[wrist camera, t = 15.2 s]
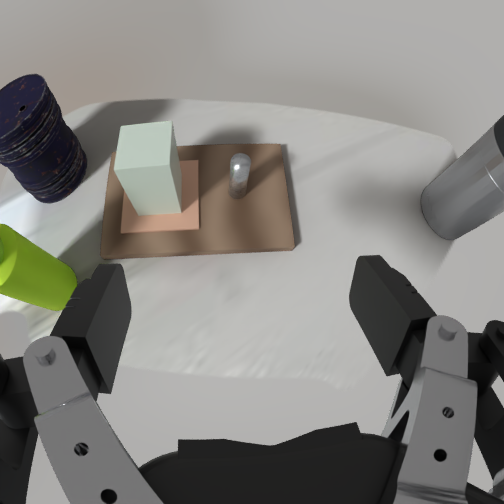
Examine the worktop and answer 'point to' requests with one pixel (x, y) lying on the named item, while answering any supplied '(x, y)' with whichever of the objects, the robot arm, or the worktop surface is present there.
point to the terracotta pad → (168, 221)
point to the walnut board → (212, 209)
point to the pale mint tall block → (150, 167)
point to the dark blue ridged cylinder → (38, 140)
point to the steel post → (239, 175)
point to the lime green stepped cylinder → (33, 272)
